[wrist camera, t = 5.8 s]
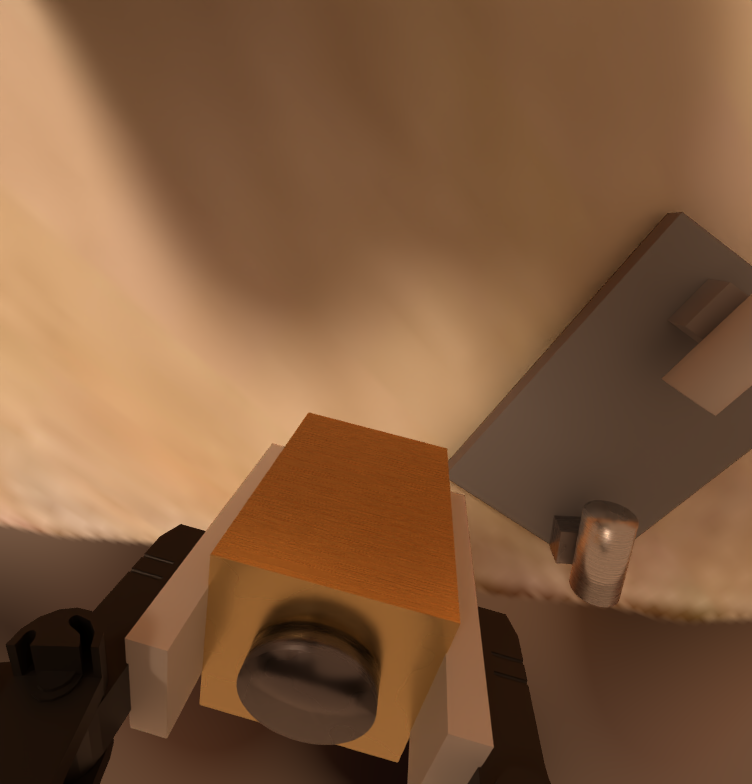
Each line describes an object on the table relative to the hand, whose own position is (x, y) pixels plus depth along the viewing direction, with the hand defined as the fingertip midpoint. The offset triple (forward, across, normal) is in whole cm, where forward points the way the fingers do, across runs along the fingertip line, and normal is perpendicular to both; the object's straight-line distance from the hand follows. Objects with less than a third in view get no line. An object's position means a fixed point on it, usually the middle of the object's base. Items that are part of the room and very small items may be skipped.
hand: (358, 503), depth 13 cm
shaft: (+11, +14, -6) cm, 18 cm away
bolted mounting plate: (+12, +13, +1) cm, 18 cm away
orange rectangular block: (+1, 0, 0) cm, 1 cm away
